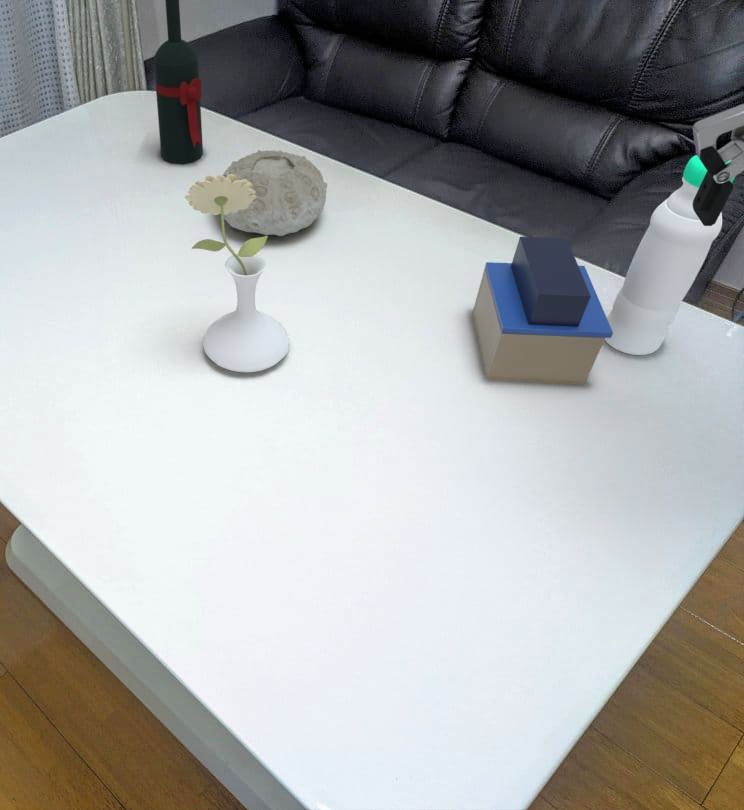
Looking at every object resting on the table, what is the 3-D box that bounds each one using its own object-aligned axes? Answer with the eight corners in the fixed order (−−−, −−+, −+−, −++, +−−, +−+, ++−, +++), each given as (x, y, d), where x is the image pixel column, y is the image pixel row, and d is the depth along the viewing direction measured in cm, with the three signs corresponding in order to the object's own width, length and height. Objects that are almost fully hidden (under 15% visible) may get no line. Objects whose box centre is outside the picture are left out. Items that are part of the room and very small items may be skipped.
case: (510, 266, 94) (519, 236, 91) (556, 267, 94) (567, 237, 91) (528, 324, 86) (539, 294, 83) (578, 326, 85) (591, 296, 82)
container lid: (582, 270, 94) (584, 265, 94) (611, 338, 85) (613, 332, 84) (484, 267, 96) (486, 261, 95) (501, 333, 86) (503, 327, 86)
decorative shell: (292, 262, 112) (295, 203, 105) (194, 232, 119) (191, 174, 112) (342, 209, 122) (348, 152, 115) (250, 184, 130) (250, 129, 123)
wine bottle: (180, 175, 133) (168, -8, 112) (153, 154, 139) (137, -23, 118) (217, 163, 136) (212, -18, 114) (189, 143, 142) (179, -32, 121)
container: (559, 318, 100) (577, 270, 94) (583, 386, 90) (605, 338, 85) (471, 314, 101) (484, 267, 96) (486, 382, 92) (501, 333, 86)
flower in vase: (298, 333, 100) (309, 160, 82) (275, 388, 92) (282, 210, 75) (208, 316, 103) (200, 146, 86) (179, 367, 96) (164, 193, 78)
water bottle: (648, 324, 98) (737, 146, 81) (666, 359, 93) (764, 177, 76) (593, 322, 99) (669, 145, 81) (608, 357, 94) (692, 176, 76)
